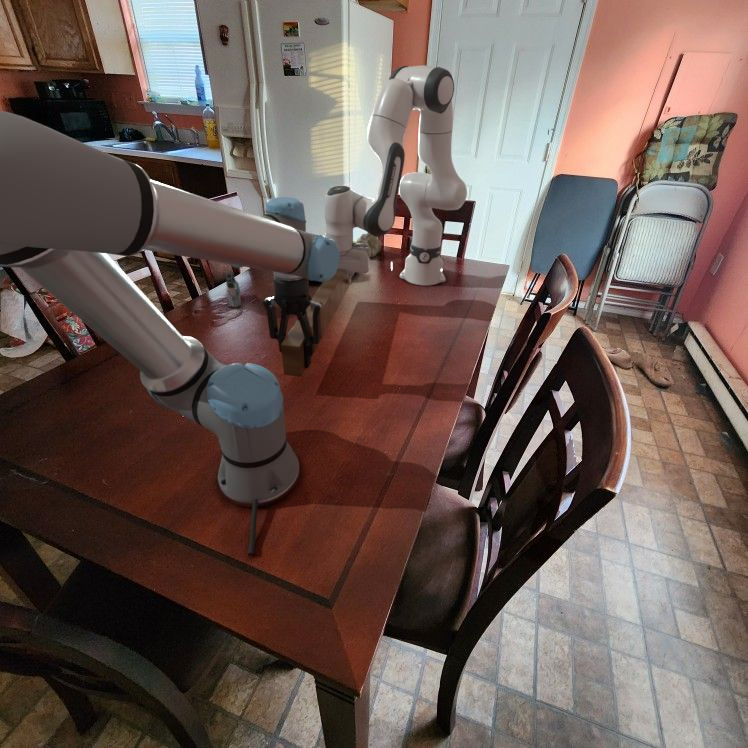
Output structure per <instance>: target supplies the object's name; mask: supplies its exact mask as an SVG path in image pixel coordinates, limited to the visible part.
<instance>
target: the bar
mask: <svg viewBox="0 0 748 748" xmlns="http://www.w3.org/2000/svg"><path fill="white" fill-rule="evenodd" d="M347 277H350V276H349V272H346V271H345V270H340V269H337V271H336V273H335V275H334V276H333V277H332V278H331V279H330V280H328V281H326V282H321V284H320V286H319V287H318V289H317V290H316V291H315V293H314V295H313V297H311V299H312V301H314V302H317V303H318V302H322V303H323V306H322V309H321V339H320V341H319V343H318V344H314V353H313V355H312V356H311V359H312V358H313V356H314V354H315V353H316V351H317V348H318V347H319V345H320V343H321V341H322V339H323V337H324V335H325V333H326V332H327V330H328V328H329V326H330V324H331V322H332V321H333V319H334V317H335V314H336V313H337V311H338V309H339V307H340V305H341V303H342V302H343V299H344V297H345V296H346V295H347V292H348V290H349V288H350V284H346V278H347ZM306 310H307V317H308V320H309V323H310V327H311V330H312V333H313V312H312V310H311V306H308V308H307V309H306ZM305 342H306V341H305V338H304V334H303V331H302V328H301V325H300V322H299V320H298V319H296V321H295V323H294V325H292V327H291V328H290V330H289V332H288V333H287V335H286V337H285V339H284V341H283V342H282V344H281V350H282V352H281V358H282V370H283V375H284V376H292V377H299V378H303V376H304V373H305V372H306V369H307V368H305V361H304V344H305Z"/></svg>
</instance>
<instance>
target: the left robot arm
mask: <svg viewBox="0 0 748 748" xmlns="http://www.w3.org/2000/svg"><path fill="white" fill-rule="evenodd" d="M305 213H306V212H305V205H304V203H303V201H301V199H298V198H295V197H288V196H278V197H277V196H276V197H272V198H269V199H268V200H267V201H266V202H265V213H264V214H262V215H257V214H254V213H251V212H248V211H245V210H243V209H239V208H236V207H233V206H230V205H227V204H224V203H222V202H218V201H215V200H212V199H209V198H207V197H203V196H200V195H197V194H194V193H190V192H189V191H185V190H183V189H179V188H176V187H174V186H170V185H168V184H165V183H161V182H159V181H156V180H153V179H151V178H150V176H149V175H148V173H147V172H146V170H144V169H143V167H141V166H139V165H138V164H137V163H133V162H131V161H128V160H125V159H122V158H120V157H117V156H114V155H112V154H110V153H107V152H106V151H103V150H100V149H98V148H96V147H93V146H91V145H88V144H86V143H84V142H83V141H79V140H76V139H75V138H73V137H70V136H68V135H66V134H64V133H62V132H59V131H58V130H55V129H53V128H51V127H49V126H46V125H44V124H42V123H39V122H37V121H34V120H32V119H30V118H28V117H25V116H22V115H20V114H15V113H11V112H8V111H5V110H0V267H2V268H19V269H21V270H22V271H23V272H24V273H25V274H26V275H27V276H29V278H31V279H32V280H33V281H35V282H36V283H37V285H40V286H41V287H42V289H44V290H45V291H46V292H47V293H49V294H50V295H51V296H52V297H54V298H55V299H56V300H57V301H58V302H59V303H61V304H62V305H63V306H64V307H65V308H66V309H68V310H69V311H70V312H71V313H72V314H73V315H75V316H76V318H77V319H79V320H80V321H82V322H83V323H84V324H85V325H86V326H87V327H88V328H90V329H91V330H92V331H93V332H94V333H96V334H97V335H98V336H99V337H100V338H101V339H102V340H103V341H105V342H106V343H107V344H108V345H110V346H111V347H112V348H113V349H115V350H116V351H117V352H118V353H119V354H120V355H122V356H123V357H124V358H125V359H126V360H127V361H129V362H130V363H131V364H132V365H133V366H134V367H135V368H137V370H139V371H140V372H139V377H140V378H139V379H140V381H141V384H142V385H143V387H144V388H145V389H146V390H147V392H148V393H149V395H150V396H151V398H153V399H154V400H155V401H156V402H157V403H158V404H159V405H161V406H162V407H163V408H166V409H168V410H170V411H173V412H175V413H177V414H178V415H180V416H182V417H183V418H186V419H188V420H190V421H192V422H193V423H195V424H197V425H199V426H201V427H202V428H204V429H206V430H208V431H209V432H211V433H213V434H214V435H216V437H217V438H218V442H219V446H220V450H221V454H222V455H221V459H220V464H219V468H218V473H217V482H218V486H219V489H220V492H221V494H222V496H223V497H224V499H225V500H226V501H228V502H229V503H231V504H233V505H235V506H238V507H241V508H246V509H251V518H250V519H251V521H250V531H249V543H248V544H249V545H248V550H247V555H248V556H250V557H252V556H254V555H255V546H256V532H257V518H258V517H257V516H258V508H259V509H260V508H265V507H268V506H271V505H274V504H275V503H277V502H280V501H281V500H283V499H284V498H286V497H287V496H289V494H290V493H291V492H292V491H293V490H294V489H295V487H296V486H297V484H298V482H299V478H300V474H301V473H300V462H299V459H298V456H297V451H296V449H294V448H292V446H291V444H289V442H288V439H287V430H286V428H287V427H286V419H285V418H286V417H285V409H284V407H285V406H284V396H283V393H282V390H281V385H280V382H279V380H278V378H277V376H276V375H275V374H274V373H273V372H272V371H270V370H269V369H268V368H266V367H264V366H262V365H259V364H256V363H252V362H251V363H250V362H246V364H243V363H242V362H236V363H235V362H233V363H230V364H224V363H222V362H220V361H219V360H217V359H216V358H215V357H214V356H213V355H212V354H211V352H209V350H208V349H207V348H206V347H205V346H204V345H203V343H201V342H200V340H198V339H196V338H194V337H192V336H187V335H182V333H180V332H179V330H178V329H176V327H175V326H174V325H173V324H172V323H171V322H170V320H169V319H167V318H166V316H165V315H164V314H163V313H162V312H161V310H159V309H158V307H157V306H156V305H155V304H154V303H153V302H152V301H151V300H150V298H148V296H147V295H146V294H145V293H144V292H143V291H142V290H141V289H140V288H139V286H138V285H137V284H136V283H135V282H134V281H133V280H132V279H131V278H130V276H129V275H127V273H126V272H125V271H124V270H123V269H122V268H121V267H120V266H119V265H118V263H117V262H116V261H115V259H113V258H112V257H111V255H115V256H122V257H135V256H137V255H138V254H140V253H141V252H142V251H150V252H155V253H161V254H167V255H173V256H179V257H186V258H191V259H197V260H201V261H202V260H203V261H207V262H208V261H209V262H215V263H221V264H227V265H229V266H230V267H232V268H237V269H240V268H250V269H255V270H262V271H268V272H272V274H273V287H274V296H272V297H271V296H267V297H266V298H265V299H264V300H263V302H262V304H263V306H264V308H265V310H266V316H267V323H268V332H269V338H270V339H272V340H276V341H278V351H279V352H280V353H282V350H281V344H282V342H283V341H284V339H285V338H286V336H287V335H288V333H287V332H288V331H287V330H288V325H289V320H290V319H289V318H290V316H291V315H293V316H295V317H296V318H297V319H296V320H299V322H300V325H301V328H302V331H303V334H304V338H305V341H306V342H305V344H304V361H305V368H306V369H309V367H310V365H311V364H312V358H311V356H312V355H313V356H314V354H315V353H314V344H318V343H319V341H320V339H321V309H322V306H323V303H322V302H318V303H317V302H314V301H312V297H311V296H310V295H311V294H310V283H309V282H318V283H319V282H320V283H323V282H326V281H328V280H330V279H331V278H332V277H333V276H334V275H335V273H336V271H337V269H338V264H339V261H340V251H339V248H338V245H337V244H336V242H335V241H334V240H332V239H330V238H327V237H324V236H322V235H323V234H315V233H312V232H308V231H307V227H306V226H307V220H306V214H305ZM308 279H309V280H311V281H309V280H308ZM313 280H315V281H313ZM276 305H277V306H278V308H279V309H280V319H279V325H278V317H277V308H276ZM308 306H311V310H312V312H313V333H312V330H311V327H310V323H309V320H308V317H307V310H306V309H307V308H308ZM321 340H322V339H321ZM320 342H321V341H320ZM319 344H320V343H319ZM313 353H314V354H313ZM313 356H312V357H313Z"/></svg>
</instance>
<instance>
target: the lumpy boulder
mask: <svg viewBox="0 0 748 748" xmlns="http://www.w3.org/2000/svg"><path fill="white" fill-rule="evenodd" d="M355 243H359V244H367V245H368V246H369V247H370V248H371V256H370V258H373V257H376V255H377V254H378V253H379V252H380V251H381V250H382V242H381V240H380V239H379V237H375V236H373V235H371V234H370V233H368V232H366V233H362V234H361V235H360V236H359V238H357V239H356V242H355Z"/></svg>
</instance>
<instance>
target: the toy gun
mask: <svg viewBox="0 0 748 748" xmlns="http://www.w3.org/2000/svg"><path fill="white" fill-rule="evenodd" d="M224 276H225V281H226V291H227V293H228V302H229V305H230V307H232V308H238V307H240V306H241V302H242V300H241V295H240V293H241V289H240V285H239V282H238V281H237V280H236V278H235V276H234V273H233V272H229V273H228V272H227V273H225V275H224Z"/></svg>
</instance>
